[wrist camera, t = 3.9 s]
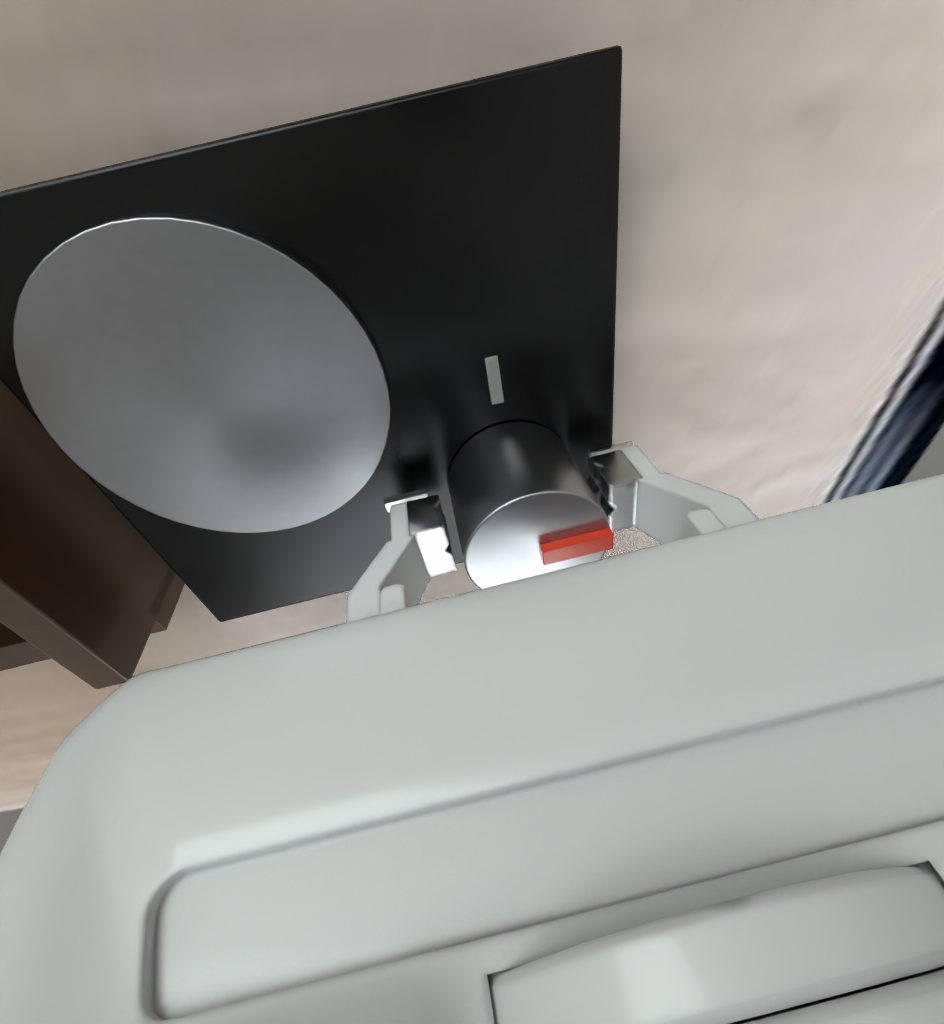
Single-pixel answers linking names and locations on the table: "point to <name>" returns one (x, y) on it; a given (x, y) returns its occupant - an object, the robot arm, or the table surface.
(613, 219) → the hob
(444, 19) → the table surface
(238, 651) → the robot arm
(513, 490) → the hob knob
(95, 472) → the burner
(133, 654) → the spice rack
